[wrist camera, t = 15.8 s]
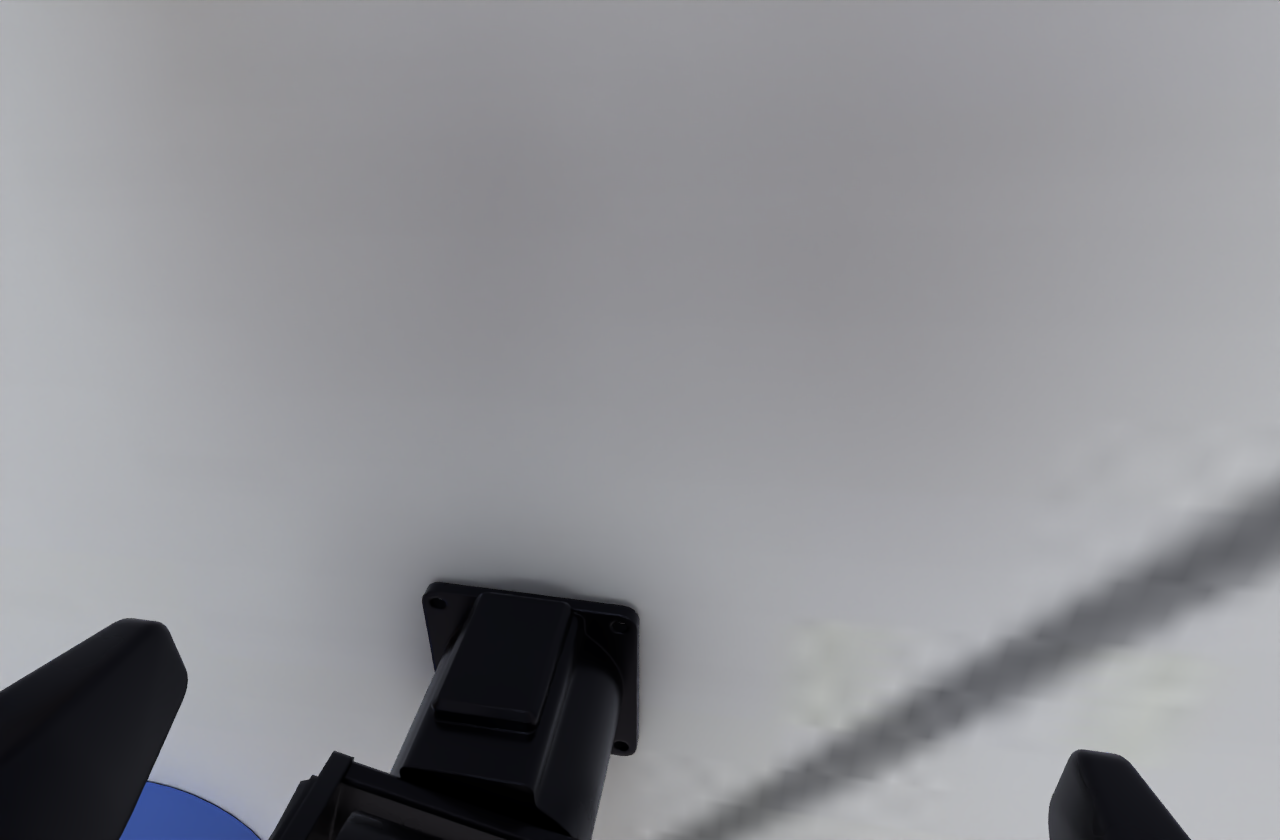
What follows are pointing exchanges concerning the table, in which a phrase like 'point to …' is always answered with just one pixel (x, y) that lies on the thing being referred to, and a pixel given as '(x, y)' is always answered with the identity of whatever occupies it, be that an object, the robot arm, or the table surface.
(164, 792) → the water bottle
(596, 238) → the table surface
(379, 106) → the table surface
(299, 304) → the table surface
